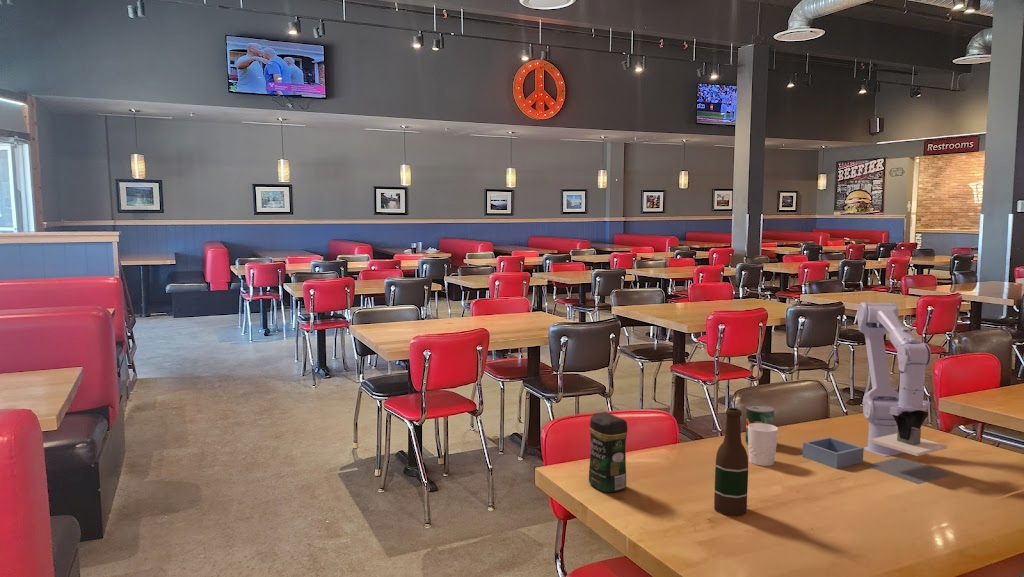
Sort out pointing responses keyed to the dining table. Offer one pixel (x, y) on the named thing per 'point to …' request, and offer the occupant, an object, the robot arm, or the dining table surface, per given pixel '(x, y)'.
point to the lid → (909, 443)
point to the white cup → (762, 443)
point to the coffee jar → (608, 452)
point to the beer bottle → (731, 469)
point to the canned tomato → (758, 416)
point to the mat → (909, 470)
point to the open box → (833, 452)
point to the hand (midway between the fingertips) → (908, 437)
